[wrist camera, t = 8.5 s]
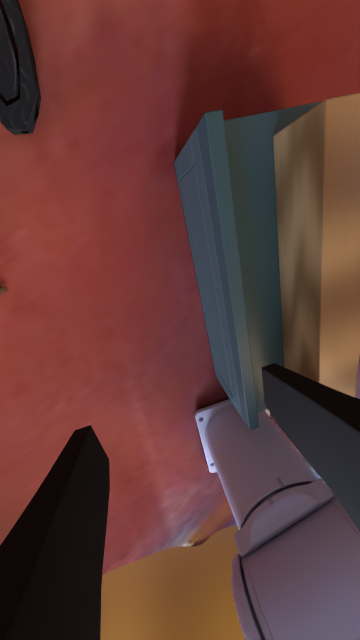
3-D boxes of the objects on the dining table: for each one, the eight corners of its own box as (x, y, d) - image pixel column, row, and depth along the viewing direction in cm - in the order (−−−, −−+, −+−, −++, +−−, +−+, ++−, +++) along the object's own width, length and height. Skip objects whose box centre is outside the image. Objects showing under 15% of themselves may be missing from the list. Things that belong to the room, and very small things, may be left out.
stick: (315, 381, 17) (353, 411, 14) (285, 392, 17) (317, 425, 14) (320, 125, 11) (389, 86, 8) (272, 135, 11) (325, 98, 8)
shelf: (298, 349, 23) (359, 391, 17) (215, 377, 22) (249, 431, 16) (294, 136, 16) (396, 75, 10) (173, 162, 15) (204, 112, 9)
